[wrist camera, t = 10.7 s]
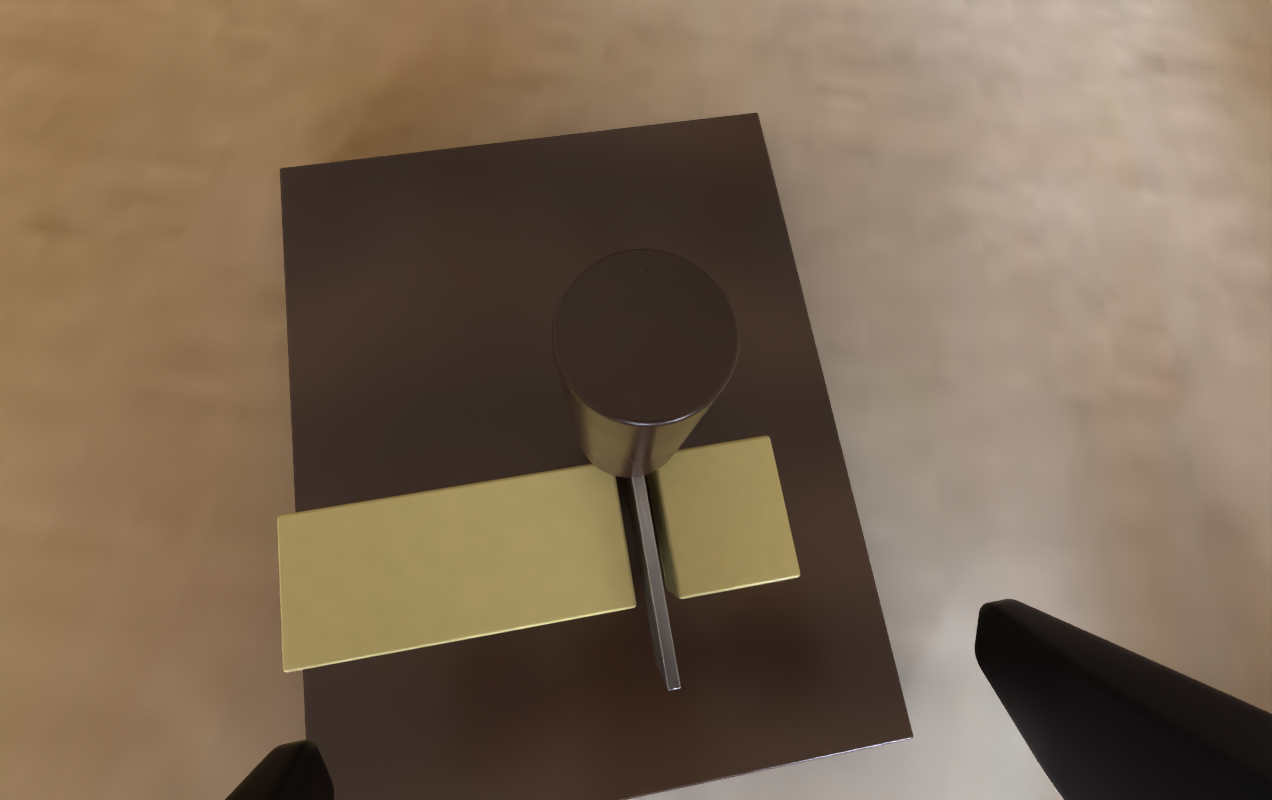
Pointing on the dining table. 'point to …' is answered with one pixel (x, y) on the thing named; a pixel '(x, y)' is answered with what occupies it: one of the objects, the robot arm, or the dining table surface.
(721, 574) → the butter pat
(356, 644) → the butter
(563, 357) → the brown mallet
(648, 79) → the dining table surface
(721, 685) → the board
